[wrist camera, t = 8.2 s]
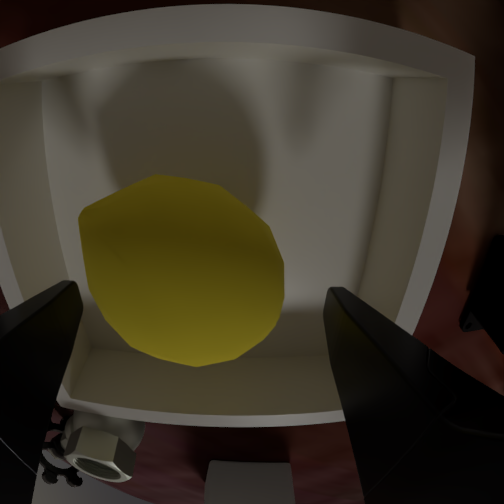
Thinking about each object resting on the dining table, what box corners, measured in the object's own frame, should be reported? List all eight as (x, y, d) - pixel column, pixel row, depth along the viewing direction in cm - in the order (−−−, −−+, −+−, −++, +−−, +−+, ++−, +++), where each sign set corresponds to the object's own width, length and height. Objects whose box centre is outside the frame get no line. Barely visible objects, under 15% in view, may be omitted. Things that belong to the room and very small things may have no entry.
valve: (93, 333, 16) (35, 398, 19) (52, 429, 10) (8, 461, 14) (181, 392, 18) (99, 438, 22) (170, 486, 12) (83, 501, 16)
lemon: (313, 226, 12) (357, 321, 7) (232, 321, 14) (229, 427, 9) (149, 119, 10) (71, 148, 5) (88, 239, 12) (20, 324, 7)
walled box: (405, 60, 10) (475, 56, 6) (349, 353, 17) (371, 416, 13) (36, 63, 9) (-35, 65, 5) (86, 346, 16) (60, 406, 12)
